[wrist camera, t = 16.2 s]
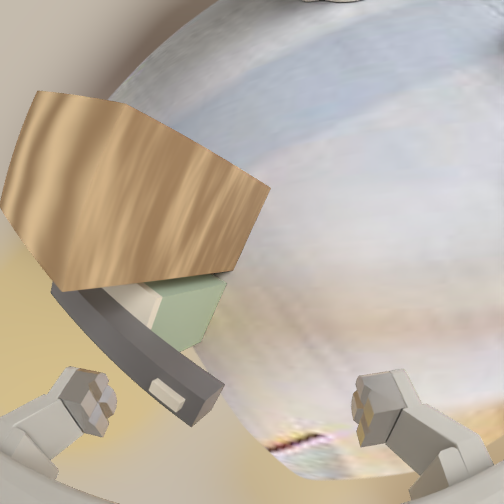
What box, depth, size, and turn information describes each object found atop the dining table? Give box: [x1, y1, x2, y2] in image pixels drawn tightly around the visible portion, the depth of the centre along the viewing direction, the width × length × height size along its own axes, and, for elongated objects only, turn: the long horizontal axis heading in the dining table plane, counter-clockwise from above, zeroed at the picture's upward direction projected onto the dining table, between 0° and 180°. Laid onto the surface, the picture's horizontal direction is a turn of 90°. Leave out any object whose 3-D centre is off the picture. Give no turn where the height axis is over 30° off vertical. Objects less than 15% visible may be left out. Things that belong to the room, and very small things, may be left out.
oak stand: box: [0, 91, 271, 292], centre depth 30 cm, size 16×12×26 cm
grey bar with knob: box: [51, 282, 225, 427], centre depth 26 cm, size 22×4×4 cm, turn 64°
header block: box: [101, 274, 227, 352], centre depth 36 cm, size 12×10×15 cm
